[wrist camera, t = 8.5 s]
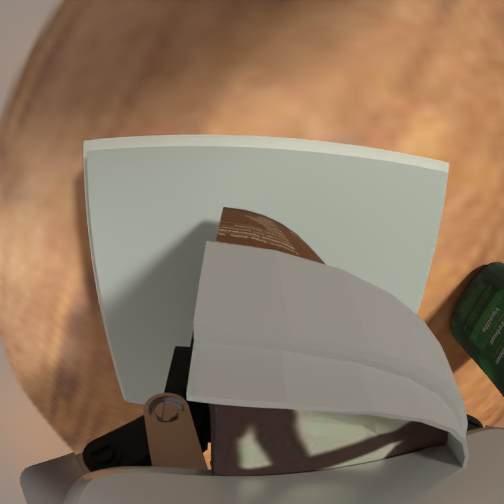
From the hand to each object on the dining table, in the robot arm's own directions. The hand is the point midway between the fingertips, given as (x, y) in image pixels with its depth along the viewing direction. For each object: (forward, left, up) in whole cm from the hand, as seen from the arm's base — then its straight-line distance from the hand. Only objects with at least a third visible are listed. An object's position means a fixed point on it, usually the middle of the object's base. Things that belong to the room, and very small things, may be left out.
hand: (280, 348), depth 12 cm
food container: (0, +1, -2) cm, 2 cm away
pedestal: (0, 0, -7) cm, 7 cm away
